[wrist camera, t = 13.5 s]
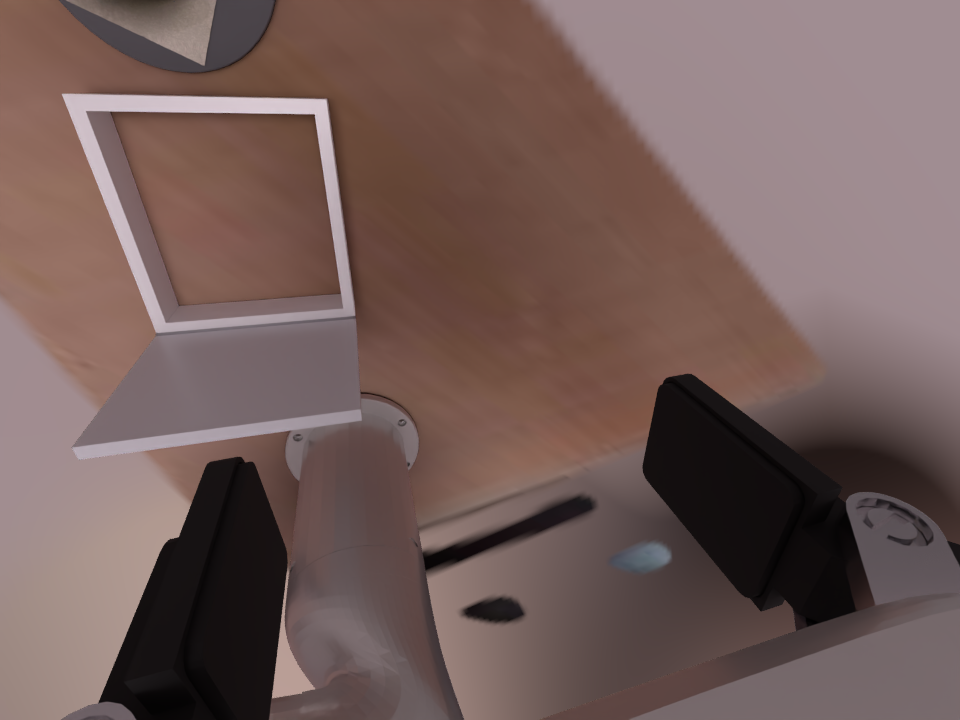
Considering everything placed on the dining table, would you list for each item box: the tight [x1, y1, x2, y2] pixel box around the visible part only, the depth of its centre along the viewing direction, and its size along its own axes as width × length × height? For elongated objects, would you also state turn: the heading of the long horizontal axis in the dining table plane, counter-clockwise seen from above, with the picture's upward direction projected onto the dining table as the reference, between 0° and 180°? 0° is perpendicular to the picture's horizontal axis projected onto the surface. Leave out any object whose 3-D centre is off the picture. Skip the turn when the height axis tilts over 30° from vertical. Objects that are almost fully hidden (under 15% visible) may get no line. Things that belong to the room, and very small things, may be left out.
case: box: [62, 93, 362, 460], centre depth 26 cm, size 16×14×15 cm
